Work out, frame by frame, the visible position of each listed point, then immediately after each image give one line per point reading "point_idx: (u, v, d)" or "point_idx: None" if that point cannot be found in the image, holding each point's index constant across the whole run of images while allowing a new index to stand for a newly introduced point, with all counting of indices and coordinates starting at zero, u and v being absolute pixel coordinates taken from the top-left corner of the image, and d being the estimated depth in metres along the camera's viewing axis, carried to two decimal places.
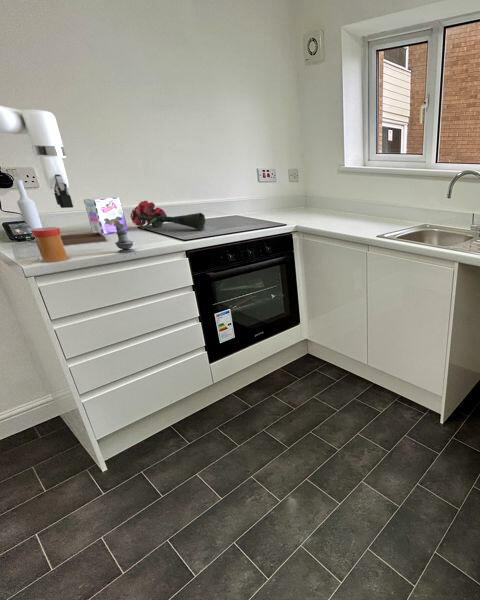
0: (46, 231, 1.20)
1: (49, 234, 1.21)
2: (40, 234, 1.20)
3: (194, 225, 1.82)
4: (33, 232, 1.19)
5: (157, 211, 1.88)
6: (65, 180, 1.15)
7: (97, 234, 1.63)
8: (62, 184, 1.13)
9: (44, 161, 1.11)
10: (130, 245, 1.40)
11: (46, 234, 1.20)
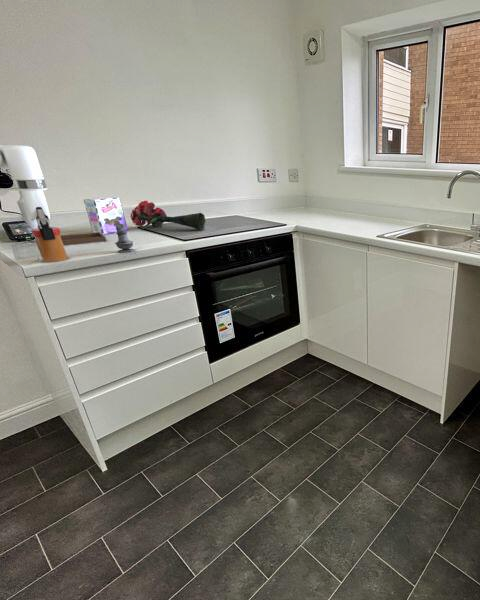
0: None
1: None
2: (40, 234, 1.20)
3: (194, 225, 1.82)
4: (33, 232, 1.19)
5: (157, 211, 1.88)
6: (46, 212, 1.18)
7: (97, 234, 1.63)
8: (44, 219, 1.16)
9: (25, 195, 1.14)
10: (130, 245, 1.40)
11: None
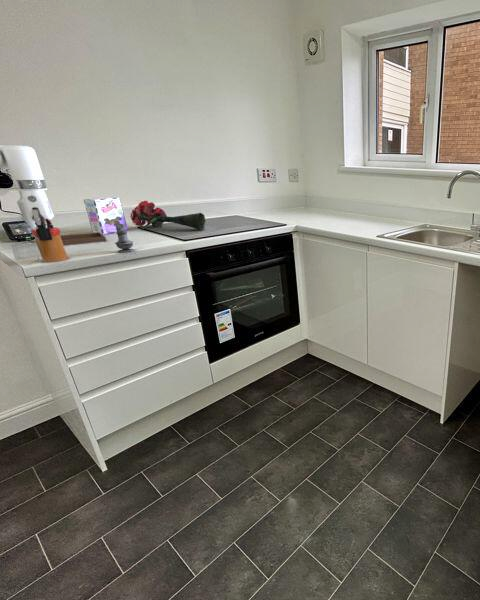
0: None
1: None
2: None
3: (194, 225, 1.82)
4: None
5: (157, 211, 1.88)
6: None
7: (97, 234, 1.63)
8: None
9: None
10: (130, 245, 1.40)
11: None
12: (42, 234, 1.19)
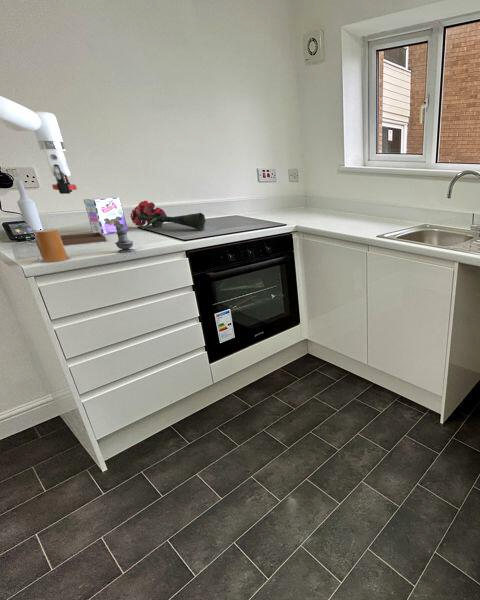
0: None
1: None
2: None
3: (194, 225, 1.82)
4: None
5: (157, 211, 1.88)
6: None
7: (97, 234, 1.63)
8: None
9: None
10: (130, 245, 1.40)
11: None
12: (61, 188, 1.41)
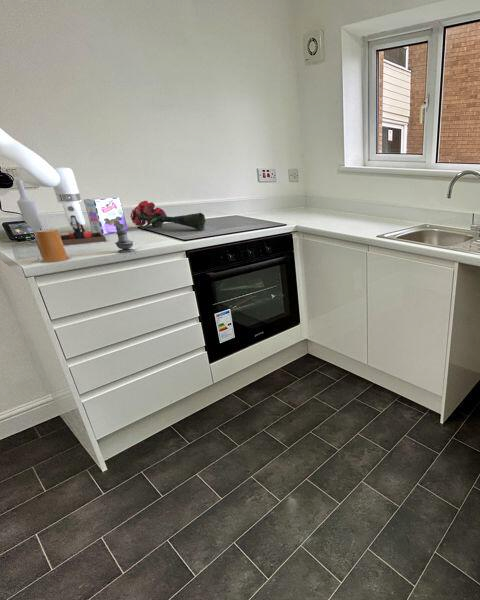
0: None
1: None
2: None
3: (194, 225, 1.82)
4: None
5: (157, 211, 1.88)
6: None
7: (97, 234, 1.63)
8: None
9: None
10: (130, 245, 1.40)
11: None
12: (77, 237, 1.50)
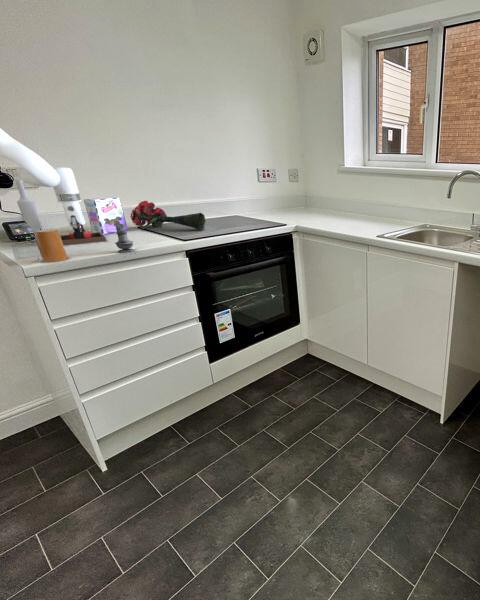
0: None
1: None
2: None
3: (194, 225, 1.82)
4: None
5: (157, 211, 1.88)
6: None
7: (97, 234, 1.63)
8: None
9: None
10: (130, 245, 1.40)
11: None
12: (77, 236, 1.50)
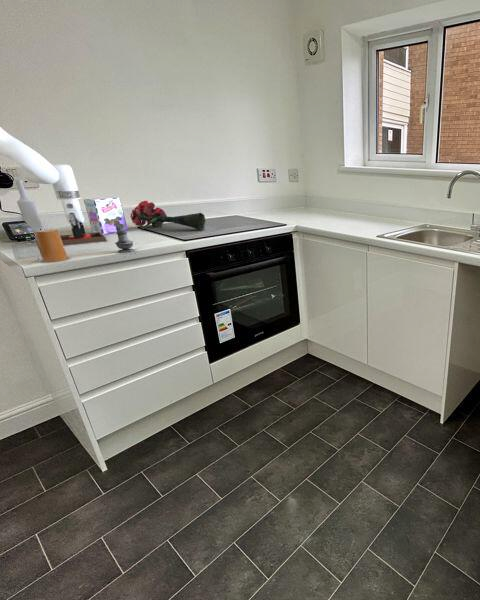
0: None
1: None
2: None
3: (194, 225, 1.82)
4: None
5: (157, 211, 1.88)
6: None
7: (97, 234, 1.63)
8: None
9: None
10: (130, 245, 1.40)
11: None
12: (76, 233, 1.49)
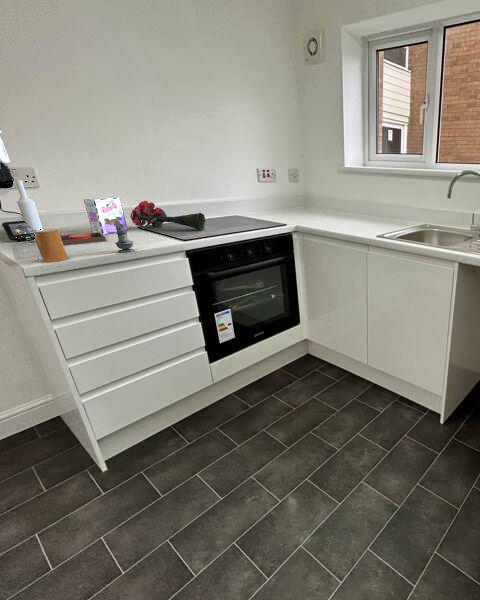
0: None
1: None
2: None
3: (194, 225, 1.82)
4: None
5: (157, 211, 1.88)
6: None
7: (97, 234, 1.63)
8: None
9: None
10: (130, 245, 1.40)
11: None
12: None
